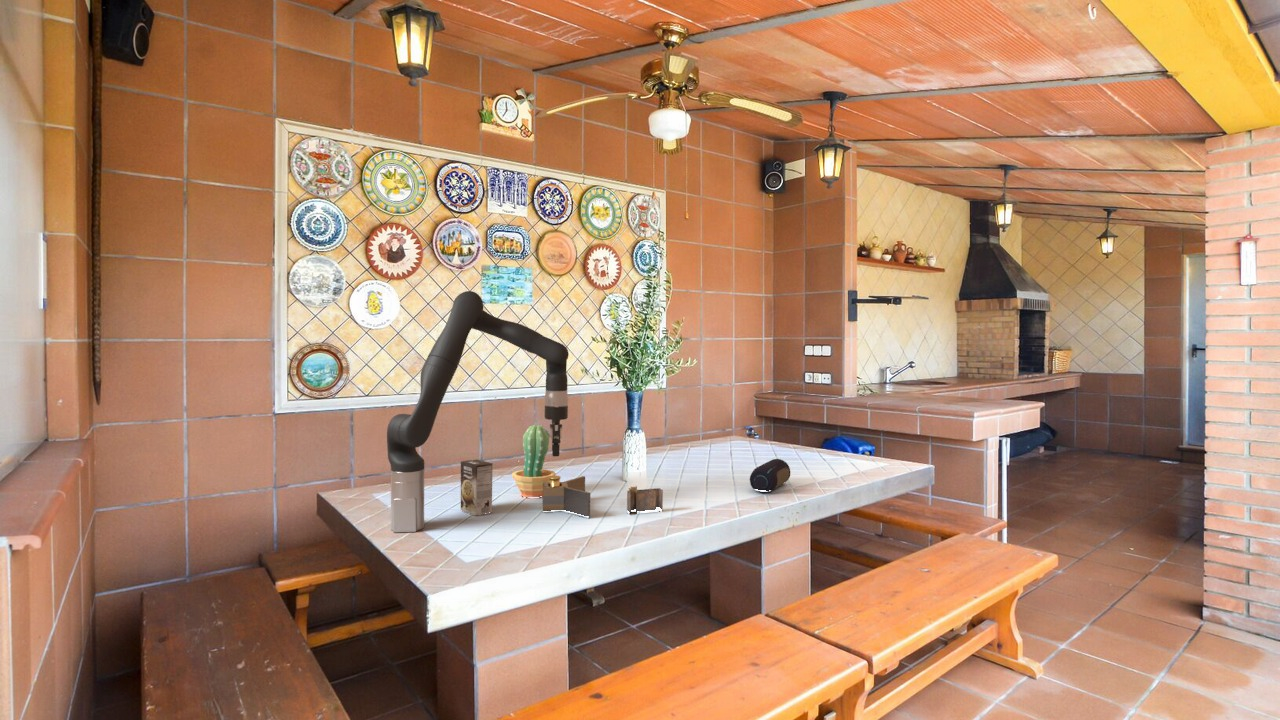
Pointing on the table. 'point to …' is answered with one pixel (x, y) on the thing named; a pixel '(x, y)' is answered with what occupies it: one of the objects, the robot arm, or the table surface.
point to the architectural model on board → (644, 499)
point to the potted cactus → (534, 462)
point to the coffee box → (476, 487)
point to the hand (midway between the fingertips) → (555, 453)
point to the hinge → (567, 496)
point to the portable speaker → (770, 475)
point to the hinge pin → (554, 480)
